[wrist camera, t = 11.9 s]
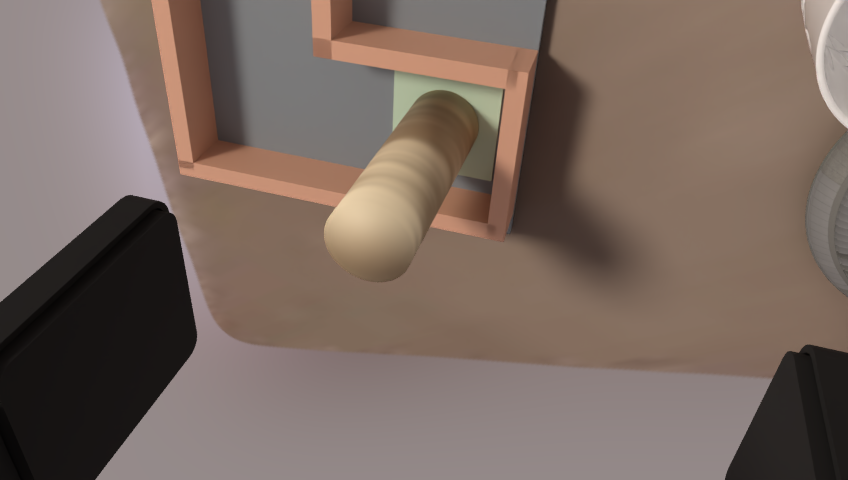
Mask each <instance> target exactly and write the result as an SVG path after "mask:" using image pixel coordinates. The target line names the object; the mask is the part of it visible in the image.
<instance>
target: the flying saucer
mask: <svg viewBox="0 0 848 480" xmlns="http://www.w3.org/2000/svg"><path fill="white" fill-rule="evenodd" d="M805 226H806V234H807V240H808V243H809V247H810V250H811V252H812V255H813V257H814V259H815V261H816V263H817V264H818V266H819V268H820V269H821V271H822V272H823V274H824V275H825V276H826V277H827V279H828V280H829V281H830V282H831V283H832V284H833V285H834V286H835V287H836V288H837V289H838V290H839V291H841V292H842V293H843V294H844V295H846V296H847V297H848V131H847V132H846V133H845V134H844V135H843V136H842V137H841V138H840V139H839V140H838V141H837V143H836V144H835V145H834V146H833V148H832V149H831V150H830V152H829V153H828V155H827V156H826V157H825V159H824V161H823V162H822V164H821V166H820V168H819V170H818V171H817V173H816V176H815V178H814V180H813V183H812V185H811V188H810V191H809V195H808V199H807V205H806V214H805Z"/></svg>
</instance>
